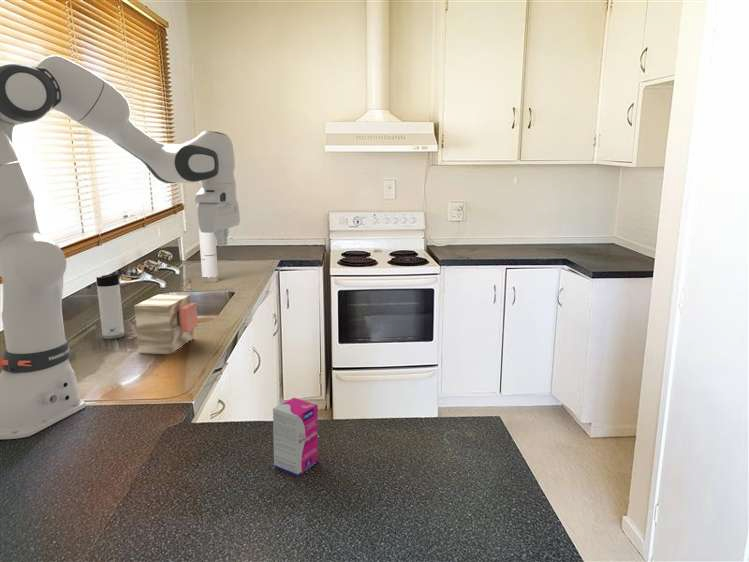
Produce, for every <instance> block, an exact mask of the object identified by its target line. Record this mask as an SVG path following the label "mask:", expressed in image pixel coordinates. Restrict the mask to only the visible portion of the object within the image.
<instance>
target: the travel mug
mask: <svg viewBox="0 0 749 562" xmlns="http://www.w3.org/2000/svg"><path fill="white" fill-rule="evenodd" d="M119 278H120V277H119V273H111V274H105V275H101V276H100V277H96V287H97V288H96V289H97V298H98V307H99V316H100V325H101V335H102V338H103V339H105V340H114V339H119V338H123V337H124V336H125V325H124V317H123V308H122V306H123V305H122V298H121V297H122V296H121V287H120V279H119Z"/></svg>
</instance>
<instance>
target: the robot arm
mask: <svg viewBox="0 0 749 562" xmlns="http://www.w3.org/2000/svg"><path fill="white" fill-rule="evenodd" d="M51 110H54V111H57V112H59V113H62V114H64V115H65V116H66V117H68V118H69V119H71V120H73V121H74V122H76V123H78V124H79V125H80V126H83V127H85V128H86V129H89V130H90V131H93V132H94V133H96V134H98V135H100V136H102V137H104V138H106V139H108V140H109V141H111V142H113V143H114V144H116V145H118V146H119V147H120V148H121V149H124V150H125V151H126V152H128V153H129V154H131V155H132V156H134V157H135V158H137V160H140V161H141V162H142V163H143V164H144V165H145V167H146V168H147V169H148V170H149V172H150V173H151V174H152V175H153V176H154V178H156V179H157V180H158V181H160V182H162V183H165V184H176V183H179V184H180V183H184V184H185V183H189V184H192V183H197V182H199V181H201V182H200V183H201V188H200V189H199V191H197V193H195V196H194V202H195V203H196V204H197V207H196V209H197V210H196V211H197V222H198V229H199V228H200V230H201V232H202V233H214V235H215V237H216V247H224V246H227V245H228V238H229V237H228V236H229V232H230V231H229V229H230V228H233V227H237V226H239V225H240V221H241V218H240V206H239V202H238V200H237V183H236V179H235V174H234V173H235V166H236V165H235V164H236V163H235V151H234V147H233V141H232V139H231V138H230V136H229V135H227V134H226V133H223V132H219V131H211V130H204V131H202V132H200V134H199V135H198V136H196V137H195V138H194V139H191V140H189V141H186V142H184V143H181V144H180V143H179V144H168V143H167V144H166V143H162V142H159V141H157V140H155V139H154V138H153V137H151V136H150V135H148V134H147V133H146V132H144V131H143V130H142V129H140V128H139V127H137V126H136V125H135V124H133V122H132V121H131V119H130V116H131V107H130V103H129V101H128V99H127V98H126V97H125V96H124V95H123V93H121V92H120V91H119V90H118V89H117V88H115V87H114V86H113V85H112V84H110V83H109V82H107V81H106V80H105V79H103V78H102V77H100V76H99V75H97V74H95V73H94V72H92V71H91V70H89V69H88V68H85V67H84V66H82V65H80V64H78V63H76V62H74V61H72V60H70V59H68V58H66V57H64V56H62V55H58V54H56V55H48V56H47V57H45V58H43V59H41V60H40V61H39V62H38V63H37V65H36V66H32V65H26V64H20V63H19V64H18V63H10V64H5V65H1V66H0V277H1V280H2V291H3V292H2V293H3V295H2V296H3V298H2V310H1V320H2V321H1V322H2V328H3V334H4V340H5V341H4V342H5V348H6V349H5V350H4V352H3V353H4V354H3V357H1V358H0V369H1V370H2V371H1V372H0V440H13V439H14V440H15V439H22V438H28V437H30V436H32V435H35V434H36V433H39V432H40V431H42V430H44V429H46V428H48V427H50V426H53V425H54V424H56V423H58V422H59V421H61V420H64V419H65V418H67V417H69V416H71V415H73V414H75V413H78V412H79V411H81V410H83V409H85V408H86V406H87V405H86V402H85V400H84V399H82V397H81V393H80V388H79V385H78V381H77V380H78V379H77V377H76V372H75V370H74V369H73V367H72V365H71V363H70V361H69V358H70V346H69V341H68V340H67V339H66V335H65V333H66V332H65V327H64V318H63V317H64V316H63V308H62V307H63V306H62V305H63V291H64V275H65V272H66V269H67V259H66V258H67V257H66V255H65V253H64V252H63V250H62V249H61V247H60V246H59V244H57V243H56V242H55V241H54V240H52V239H51V238H49V237H46V236H45V235H42V234H41V232H40V230H39V224H38V221H37V216H36V215H37V214H36V212H35V211H36V210H35V197H34V195H33V191H32V189H31V186H30V184H29V181H28V179H27V176H26V174H25V171H24V170H25V169H24V168H23V164H22V163H21V161H20V157H19V155H18V152H17V150H16V148H15V146H14V138H13V135H14V131H15V130H14V129H15V127H16V126H21V125H25V124H30V123H32V122H36V121H39V120H40V119H42V118H43V117H46V115H48V114H49V113H50V112H51Z"/></svg>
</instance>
